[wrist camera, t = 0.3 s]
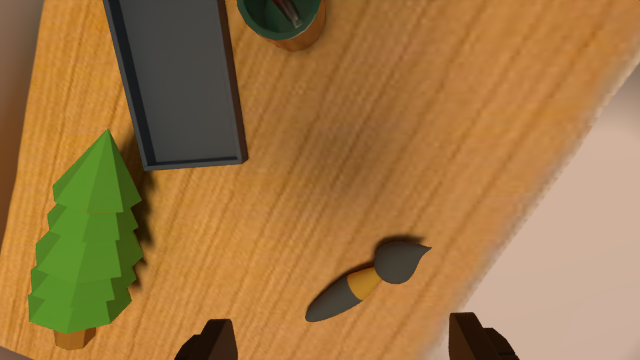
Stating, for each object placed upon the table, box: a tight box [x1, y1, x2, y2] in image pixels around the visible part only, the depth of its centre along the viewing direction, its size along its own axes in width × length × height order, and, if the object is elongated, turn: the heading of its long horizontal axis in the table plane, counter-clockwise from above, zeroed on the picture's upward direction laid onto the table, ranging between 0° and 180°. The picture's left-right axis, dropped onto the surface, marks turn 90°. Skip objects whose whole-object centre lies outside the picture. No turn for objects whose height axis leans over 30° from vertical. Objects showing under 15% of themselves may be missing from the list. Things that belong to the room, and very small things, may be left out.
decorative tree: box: [28, 129, 144, 350], centre depth 39 cm, size 11×12×30 cm
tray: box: [103, 0, 248, 171], centre depth 37 cm, size 20×12×3 cm, turn 5°
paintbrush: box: [305, 242, 432, 322], centre depth 41 cm, size 20×5×5 cm, turn 136°
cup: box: [237, 0, 326, 51], centre depth 31 cm, size 7×7×9 cm
